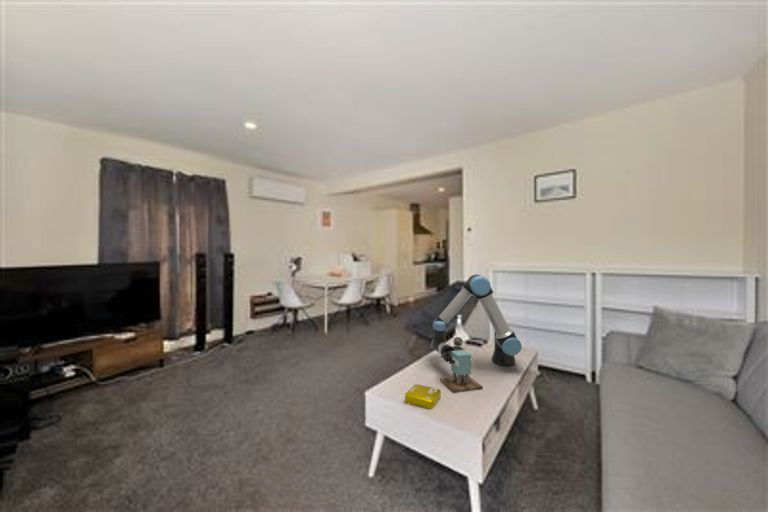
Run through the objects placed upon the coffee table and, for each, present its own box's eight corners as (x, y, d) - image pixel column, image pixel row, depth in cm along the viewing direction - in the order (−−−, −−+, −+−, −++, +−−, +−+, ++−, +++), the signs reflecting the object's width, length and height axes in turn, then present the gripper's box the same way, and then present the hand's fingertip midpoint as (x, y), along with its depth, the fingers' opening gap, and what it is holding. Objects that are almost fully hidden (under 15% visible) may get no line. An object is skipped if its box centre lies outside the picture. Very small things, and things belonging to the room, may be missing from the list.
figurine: (466, 358, 223) (466, 337, 222) (461, 363, 213) (461, 341, 212) (454, 356, 227) (454, 335, 227) (448, 361, 217) (448, 339, 217)
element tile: (415, 391, 173) (415, 382, 173) (441, 397, 166) (441, 388, 166) (403, 403, 160) (403, 393, 160) (432, 410, 153) (432, 400, 153)
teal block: (463, 368, 185) (463, 349, 185) (470, 373, 178) (470, 354, 177) (451, 370, 183) (451, 351, 183) (457, 375, 175) (458, 355, 175)
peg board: (467, 377, 191) (467, 366, 190) (482, 388, 175) (482, 377, 175) (440, 380, 186) (440, 369, 186) (453, 393, 170) (453, 381, 170)
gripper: (461, 354, 200) (481, 368, 178) (430, 358, 195) (448, 372, 173) (461, 343, 200) (481, 355, 178) (430, 345, 194) (448, 358, 173)
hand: (465, 363), depth 175 cm, fingers closed on teal block, 8 cm apart
